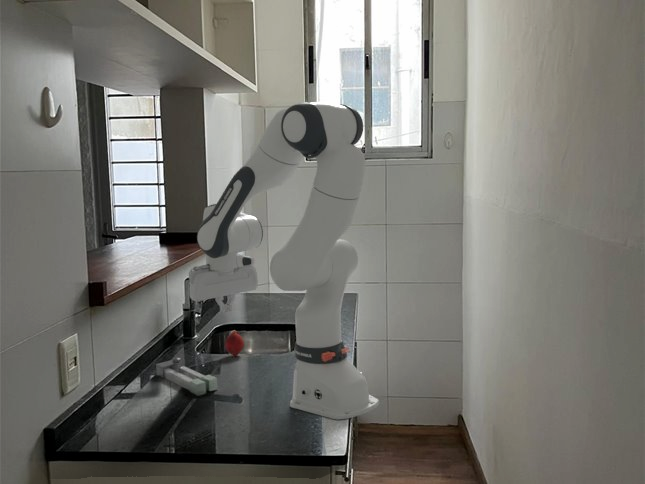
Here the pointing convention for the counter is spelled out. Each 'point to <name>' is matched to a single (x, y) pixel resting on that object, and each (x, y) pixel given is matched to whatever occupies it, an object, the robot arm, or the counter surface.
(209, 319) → the counter surface
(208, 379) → the tong arm
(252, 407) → the counter surface
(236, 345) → the onion
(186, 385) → the tong base
